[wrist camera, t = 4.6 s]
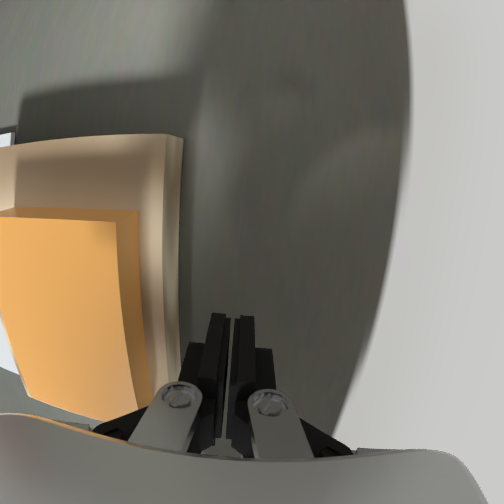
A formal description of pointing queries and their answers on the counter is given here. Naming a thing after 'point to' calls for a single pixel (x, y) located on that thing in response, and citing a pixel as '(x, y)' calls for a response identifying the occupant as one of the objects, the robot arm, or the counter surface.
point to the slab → (75, 307)
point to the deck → (115, 198)
